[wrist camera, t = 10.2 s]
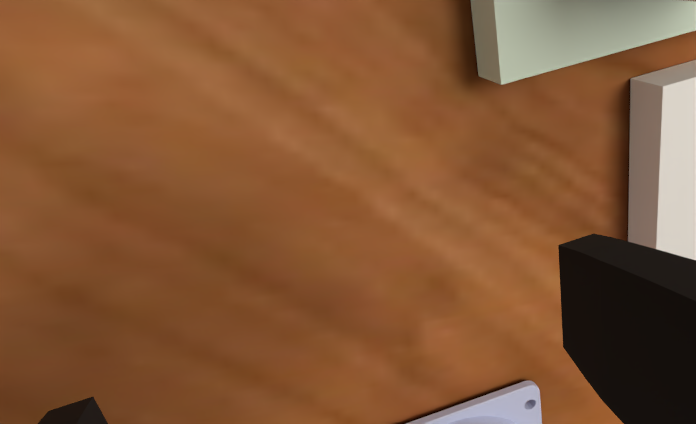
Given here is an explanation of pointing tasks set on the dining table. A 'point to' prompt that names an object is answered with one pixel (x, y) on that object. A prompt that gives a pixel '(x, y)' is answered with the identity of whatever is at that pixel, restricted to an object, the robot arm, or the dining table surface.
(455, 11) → the dining table surface
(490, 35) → the stand
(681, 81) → the stand
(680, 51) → the dining table surface
